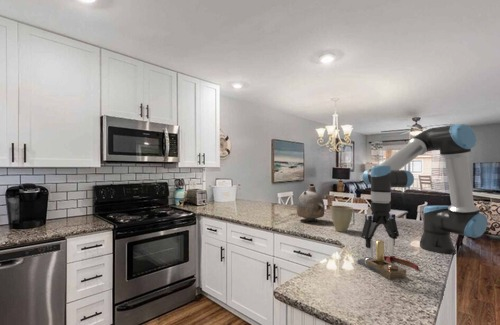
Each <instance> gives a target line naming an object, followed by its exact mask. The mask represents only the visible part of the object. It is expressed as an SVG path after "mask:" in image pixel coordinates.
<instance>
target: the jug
mask: <svg viewBox="0 0 500 325" xmlns="http://www.w3.org/2000/svg"><path fill="white" fill-rule="evenodd" d="M296 213H297V215H298V217H301V218H304V219H306V220H308V221H309V222H312V221H315V220H316V219H319V218H323V217H324V215H325V202H324V200H323V196H321V194H320V193H319V192H318V191H317V190H316V183H314V182H313V183H309V184H308V189H307V190H306V191H305V190H304V191H303V192H302V193H301V194H299V197H298V199H297V203H296Z"/></svg>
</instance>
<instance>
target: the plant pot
mask: <svg viewBox="0 0 500 325" xmlns="http://www.w3.org/2000/svg"><path fill="white" fill-rule="evenodd" d="M329 208H330V216H331V220H332V223H333V227H334V229H335V231H337V232H341V233H342V232H347V231H348V229H349V226H350V223H351V220H352V217H353V212H354V207H352V206H348V205H347V206H346V205H331V206H329Z"/></svg>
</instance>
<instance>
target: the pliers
mask: <svg viewBox="0 0 500 325" xmlns="http://www.w3.org/2000/svg"><path fill="white" fill-rule="evenodd" d="M384 260H385V261H387V262H390V263H392V262H393V263H396V264H400V265H403V266H406V267H410V268H412V269H413V270H415V271H416V272H417V271H419V269H420V267H419V265H418V264H415V263H414V262H412V261H409V260H407V259H402V258H399V257H396V256H395V255H389V254H386V253H384Z"/></svg>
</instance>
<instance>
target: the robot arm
mask: <svg viewBox="0 0 500 325" xmlns="http://www.w3.org/2000/svg"><path fill="white" fill-rule="evenodd" d="M476 142H477V136H476V133H475V131H474V129H473V128H472V127H470V126H469V125H468V124H464V123H463V124H459V123H458V124H452V125H451V124H450V125H444V126H437V127H435V126H434V127H430V128H428V129H425V130H423V131H422V132H420V133H418V134H416V135H415V136H413V137H412V138H411V139H409V140H408V142H407V144H406V145H405V146H403V147H402V148H400V149H399V150H398V151H397V152H395V153H394V154H392V155H391V156H390V157H388V158H387V159H385V160H384V161H383V162H381V163H380V164H379V165H373V166H371V169H366V170H365V171H363V172H362V181H363V182H364V183H365V184H366V185H369V186H370V201H371V202H370V210H371V214H365V217H364V225H363V228H362V232H361V236H360V237H361V239H364V241H365V248H366V256H367V257H370V258H373V257H374V240H373V237H374V235H375V233H376V232H377V229H378V227H379V226H380V225H383V227H384V229H385V231H386V233H387V235H388V237H387V238H386V239H387V246H386V247H387V248H386V249H387V250H386V251H387V252H386V253H388V254H390V255H395V243H396V242H395V241H396V240H397V239H398V237H400V234H399V233H400V232H399V230H398V225H397V224H398V223H397V220H396V214H395V213H391V212H392V211H391V209H392V208H391V206H392V204H391V201H392V198H391V196H392V195H391V194H392V192H391V190H392V188H403V189H404V188H410V187H412V185H413V184H414V181H415V177H414V174H413V173H412V172H411V171H409V170H404V169H403V168H404V167H406V165H408V164H409V163H410V162H412V161H413V160H415V159H416V158H417V157H418V156H422V155H425V154H426V153H428V152H431V151H439V155H440V156H442V157H443V158H444V160H445V162H444V163H445V170H446V176H447V183H448V192H449V197H450V198H449V199H450V203H451V204H450V205H425V206H424V207H423V213H422V215H423V219H422V220H423V232H422V235H421V238H420V241H419V247H420V248H421V249H423V250H426V251H429V252H434V253H435V252H436V253H440V254H452V253H455V245H454V243H453V240H452V238H451V233H452V234H456V235H461V236H463V237H470V238H475V239H476V238H480V237H481V236H483V234H484V233H485V232H486V229H487V227H488V219H487V218H488V217H486V215H485V214H483V213H481V212H480V208H479V207H478V206H477V205H475V202H474V194H473V187H472V180H471V173H470V166H469V158H468V156H469V154H470V153H472V148H474V147H475V146H476Z"/></svg>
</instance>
